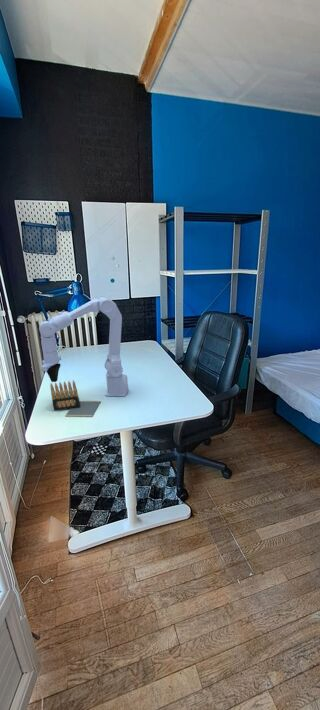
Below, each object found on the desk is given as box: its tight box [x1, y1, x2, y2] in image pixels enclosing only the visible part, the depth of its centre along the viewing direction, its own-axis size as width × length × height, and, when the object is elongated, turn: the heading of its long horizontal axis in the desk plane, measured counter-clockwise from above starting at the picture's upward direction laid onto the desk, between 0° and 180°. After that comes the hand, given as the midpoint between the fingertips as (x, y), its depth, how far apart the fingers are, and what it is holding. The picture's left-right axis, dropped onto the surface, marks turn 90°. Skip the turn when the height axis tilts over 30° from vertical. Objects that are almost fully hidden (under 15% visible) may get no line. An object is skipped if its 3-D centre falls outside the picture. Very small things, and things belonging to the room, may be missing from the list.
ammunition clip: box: [50, 380, 81, 412], centre depth 122 cm, size 11×2×12 cm, turn 99°
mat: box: [64, 400, 101, 418], centre depth 124 cm, size 11×13×1 cm
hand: (54, 381), depth 126 cm, fingers closed
